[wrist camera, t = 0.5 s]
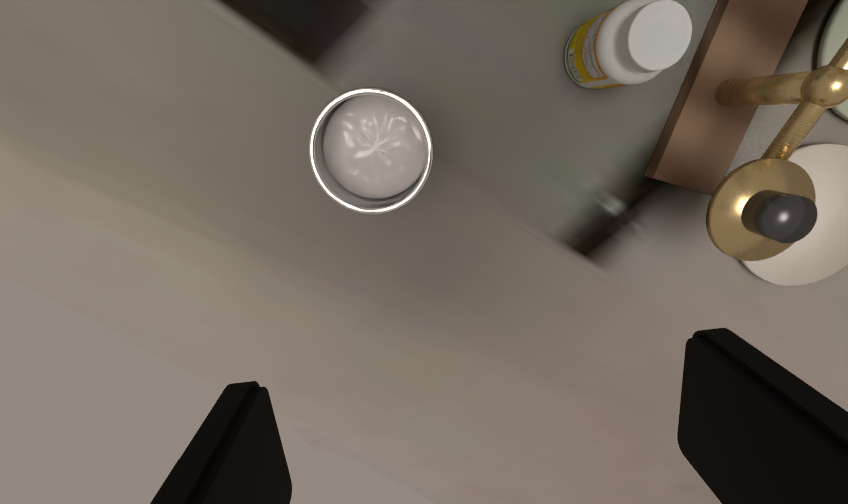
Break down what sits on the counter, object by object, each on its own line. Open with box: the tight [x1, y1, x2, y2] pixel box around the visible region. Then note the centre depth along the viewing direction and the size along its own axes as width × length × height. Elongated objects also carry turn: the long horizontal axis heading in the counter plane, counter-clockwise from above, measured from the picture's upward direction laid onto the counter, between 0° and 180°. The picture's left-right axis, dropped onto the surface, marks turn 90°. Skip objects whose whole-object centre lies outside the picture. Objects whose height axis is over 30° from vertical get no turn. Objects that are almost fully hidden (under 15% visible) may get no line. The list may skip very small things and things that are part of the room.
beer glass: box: [308, 87, 433, 214], centre depth 30 cm, size 7×7×15 cm
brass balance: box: [644, 0, 848, 261], centre depth 30 cm, size 23×7×15 cm, turn 164°
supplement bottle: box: [565, 0, 692, 89], centre depth 32 cm, size 5×5×10 cm
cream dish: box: [740, 143, 848, 286], centre depth 40 cm, size 13×13×1 cm
